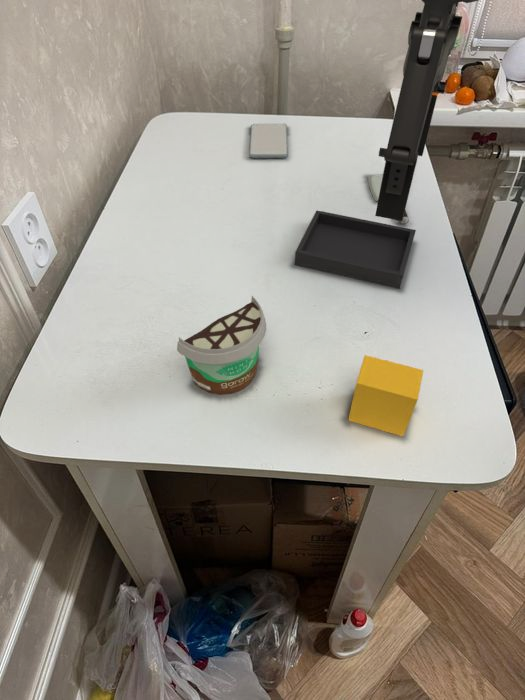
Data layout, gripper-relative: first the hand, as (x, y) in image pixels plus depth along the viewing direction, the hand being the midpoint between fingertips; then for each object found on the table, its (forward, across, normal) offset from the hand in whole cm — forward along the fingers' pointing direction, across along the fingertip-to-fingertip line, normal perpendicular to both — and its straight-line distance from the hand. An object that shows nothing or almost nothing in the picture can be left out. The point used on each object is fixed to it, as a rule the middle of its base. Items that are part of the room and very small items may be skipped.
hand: (400, 182), depth 54 cm
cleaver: (+25, -36, -4) cm, 44 cm away
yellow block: (+25, +13, +4) cm, 28 cm away
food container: (+25, +14, -15) cm, 32 cm away
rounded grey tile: (+25, -50, -33) cm, 65 cm away
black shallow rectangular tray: (+25, -18, -6) cm, 31 cm away
